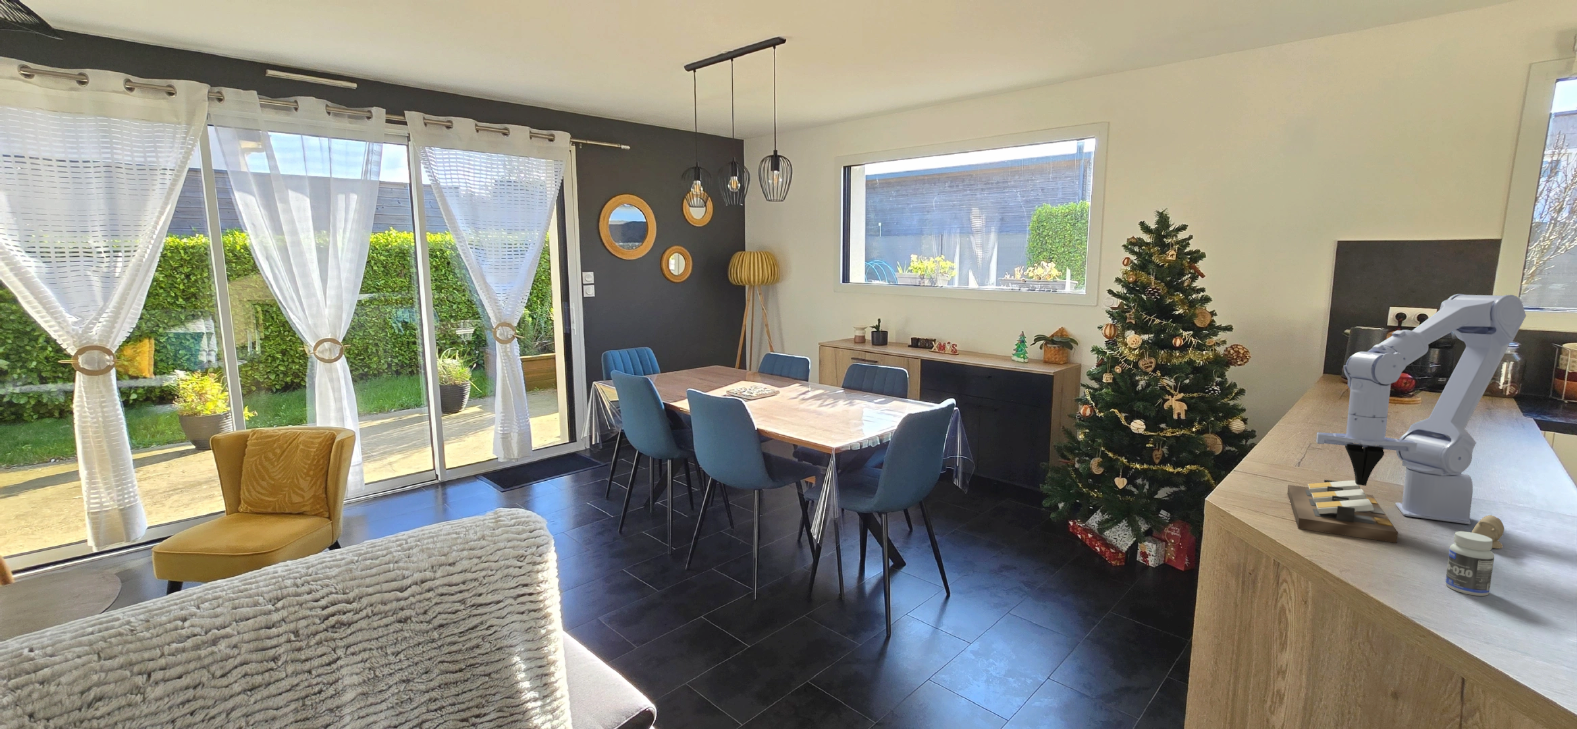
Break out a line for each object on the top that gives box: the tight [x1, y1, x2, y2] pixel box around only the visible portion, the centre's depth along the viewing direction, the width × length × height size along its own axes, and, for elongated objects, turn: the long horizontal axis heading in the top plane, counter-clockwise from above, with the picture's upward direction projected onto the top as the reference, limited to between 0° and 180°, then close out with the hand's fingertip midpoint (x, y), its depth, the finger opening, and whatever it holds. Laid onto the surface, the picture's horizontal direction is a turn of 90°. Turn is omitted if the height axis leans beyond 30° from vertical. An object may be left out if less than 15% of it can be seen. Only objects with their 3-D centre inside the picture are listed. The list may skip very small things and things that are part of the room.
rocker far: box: [1307, 479, 1361, 493], centre depth 138 cm, size 8×4×1 cm, turn 58°
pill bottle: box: [1445, 530, 1495, 597], centre depth 101 cm, size 5×5×8 cm
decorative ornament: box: [1471, 514, 1505, 550], centre depth 118 cm, size 4×8×5 cm, turn 126°
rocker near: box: [1316, 499, 1374, 514], centre depth 127 cm, size 8×4×1 cm, turn 57°
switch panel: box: [1286, 479, 1399, 544], centre depth 133 cm, size 14×24×5 cm, turn 148°
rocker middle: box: [1311, 488, 1367, 503], centre depth 132 cm, size 8×4×1 cm, turn 58°
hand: (1360, 483), depth 130 cm, fingers closed
